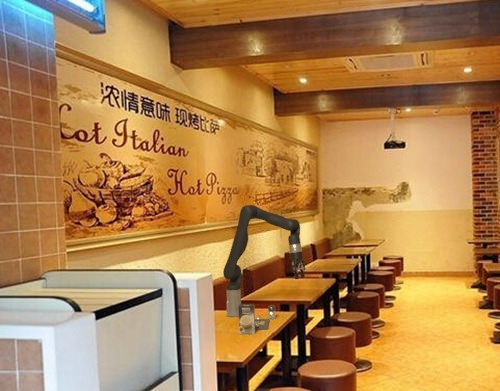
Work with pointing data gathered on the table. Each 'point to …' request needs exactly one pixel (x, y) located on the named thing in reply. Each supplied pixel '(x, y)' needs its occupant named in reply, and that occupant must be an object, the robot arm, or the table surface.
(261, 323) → the plate
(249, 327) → the coffee box
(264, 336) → the table surface
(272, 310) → the ball-topped cylinder
